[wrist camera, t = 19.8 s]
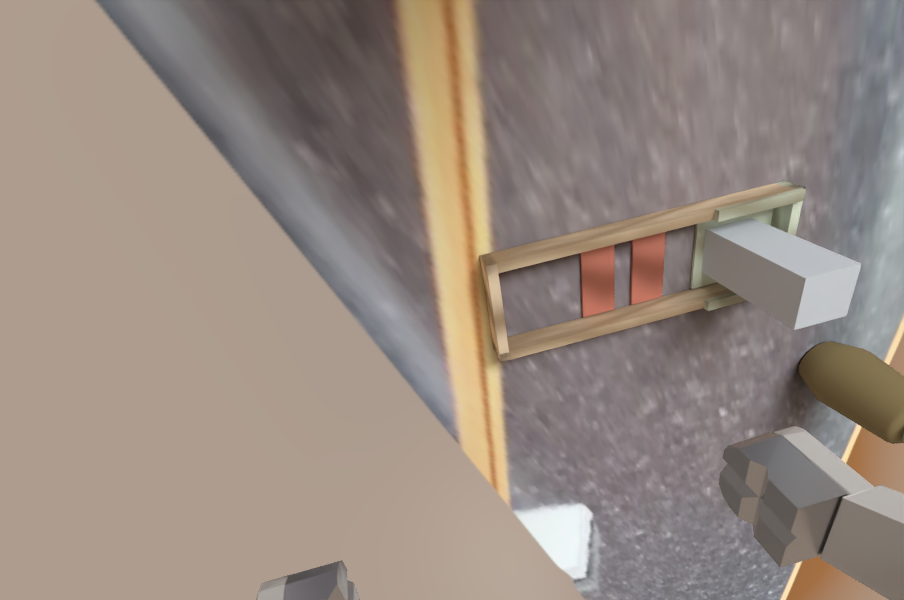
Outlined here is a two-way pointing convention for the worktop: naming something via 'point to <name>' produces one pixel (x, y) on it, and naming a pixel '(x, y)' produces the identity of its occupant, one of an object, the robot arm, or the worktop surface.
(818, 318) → the blue-grey block
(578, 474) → the worktop surface
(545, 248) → the channel
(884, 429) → the squeeze bottle
